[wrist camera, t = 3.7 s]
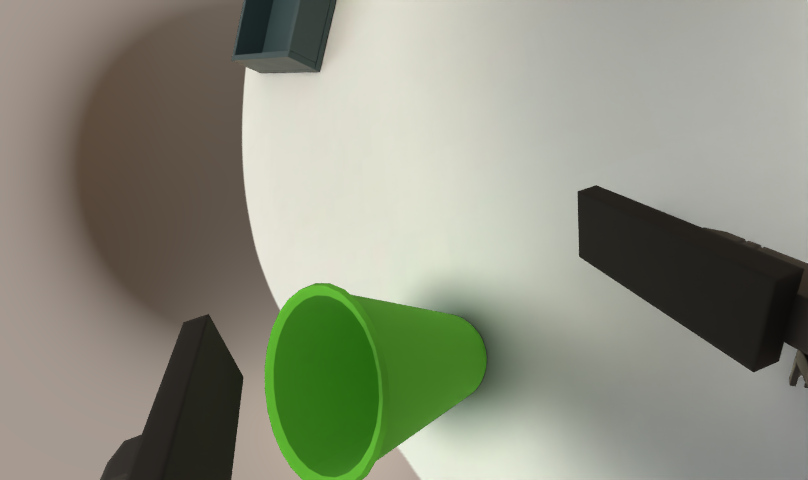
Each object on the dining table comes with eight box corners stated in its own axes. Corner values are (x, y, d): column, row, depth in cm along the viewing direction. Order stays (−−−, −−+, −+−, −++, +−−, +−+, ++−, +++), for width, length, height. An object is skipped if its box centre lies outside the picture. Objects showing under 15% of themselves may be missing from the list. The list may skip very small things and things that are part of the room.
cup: (525, 296, 24) (396, 298, 16) (510, 453, 23) (370, 539, 15) (410, 277, 30) (274, 272, 22) (397, 401, 29) (254, 443, 21)
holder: (284, -37, 47) (255, -57, 45) (350, -62, 39) (319, -88, 36) (260, 73, 49) (231, 60, 46) (319, 71, 40) (287, 56, 38)
